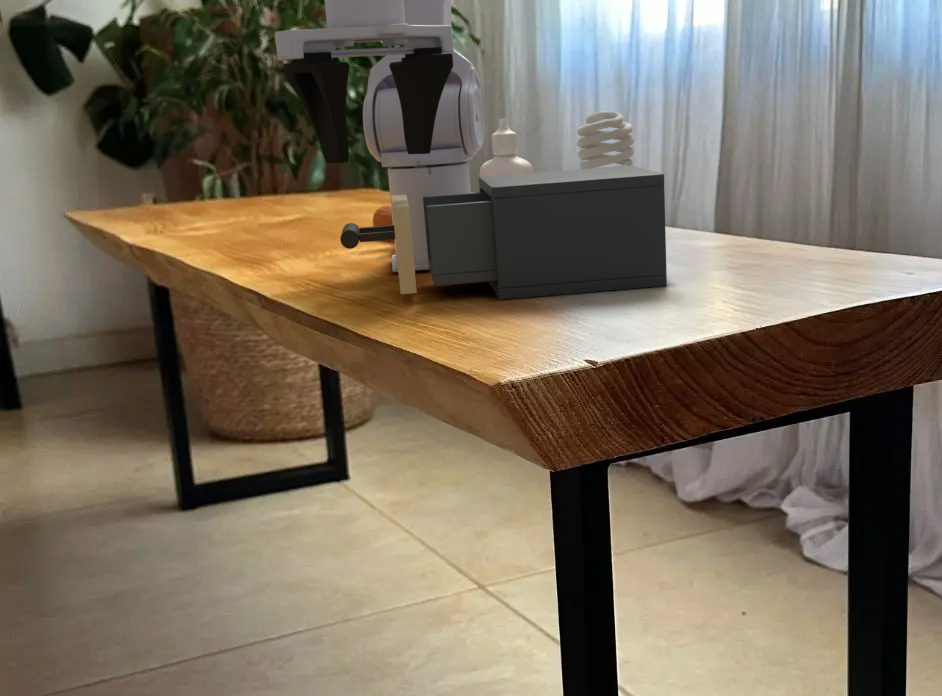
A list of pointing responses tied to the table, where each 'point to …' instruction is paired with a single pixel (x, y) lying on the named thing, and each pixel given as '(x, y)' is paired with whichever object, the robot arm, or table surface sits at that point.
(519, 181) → the cabinet
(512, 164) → the eye dropper bottle
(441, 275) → the drawer
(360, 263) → the table surface
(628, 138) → the light bulb
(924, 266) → the table surface
